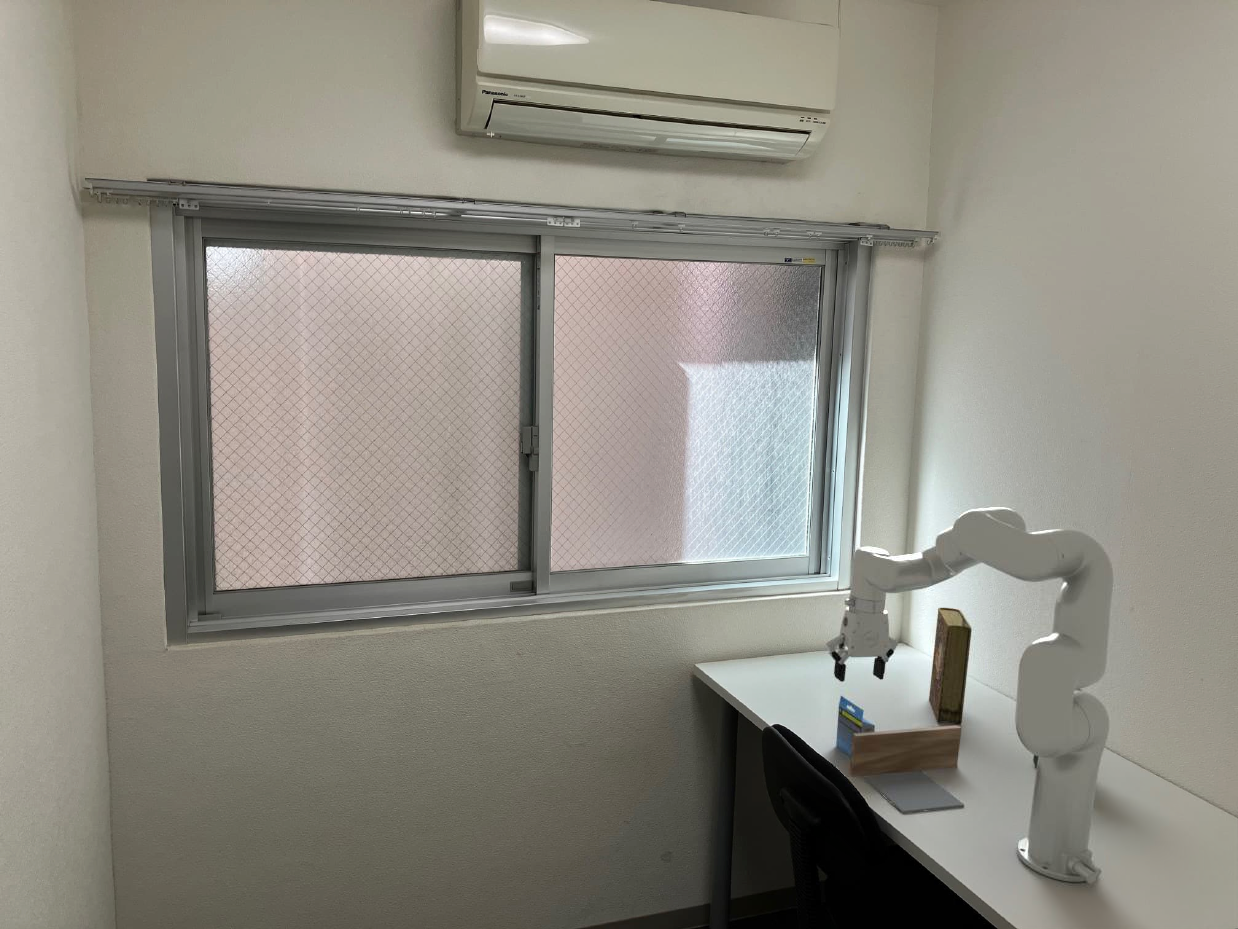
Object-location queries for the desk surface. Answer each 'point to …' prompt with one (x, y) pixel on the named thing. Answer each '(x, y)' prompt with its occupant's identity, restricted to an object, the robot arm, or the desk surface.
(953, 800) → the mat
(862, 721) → the label tape box
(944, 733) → the walnut screen
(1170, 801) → the desk surface
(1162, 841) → the desk surface
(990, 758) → the desk surface
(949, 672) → the book
